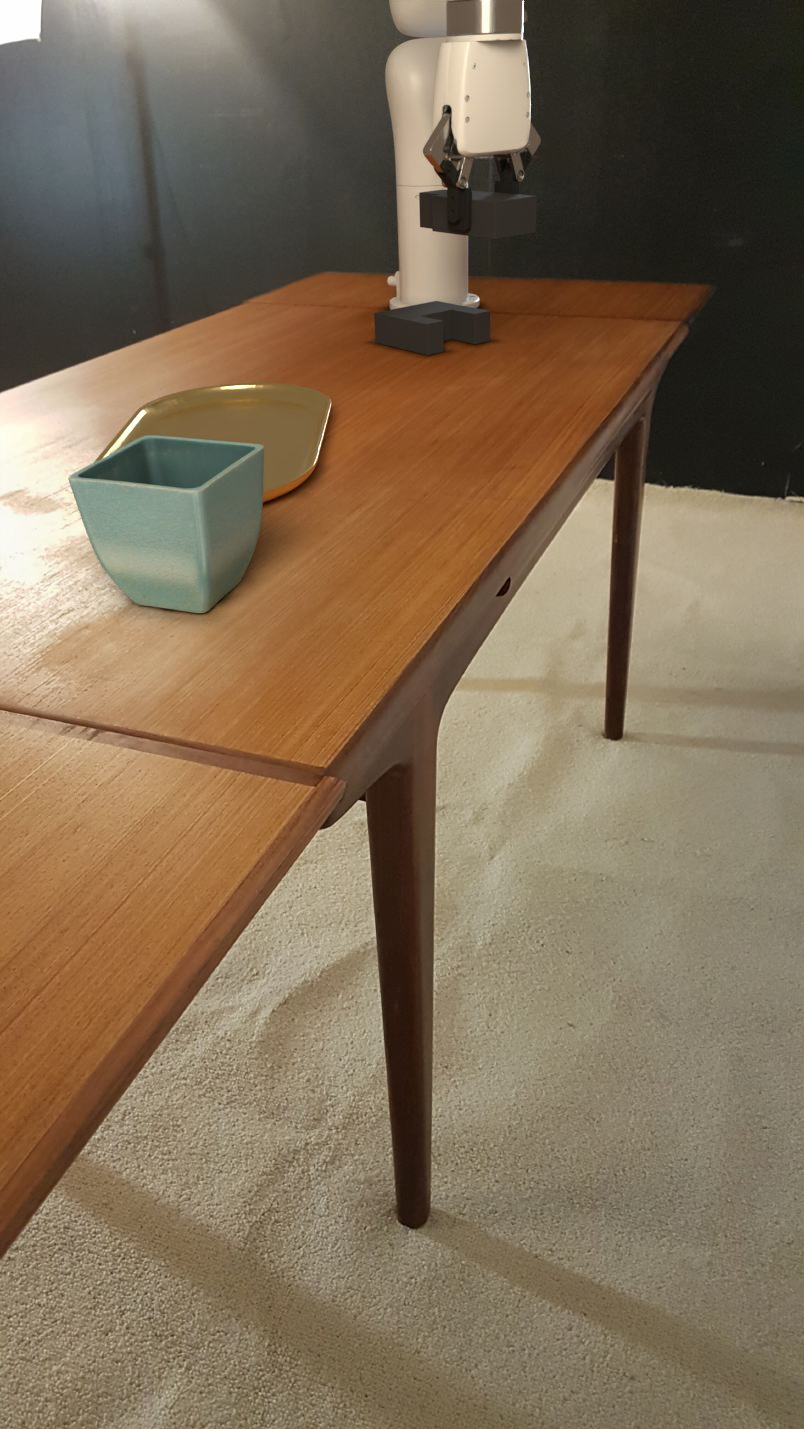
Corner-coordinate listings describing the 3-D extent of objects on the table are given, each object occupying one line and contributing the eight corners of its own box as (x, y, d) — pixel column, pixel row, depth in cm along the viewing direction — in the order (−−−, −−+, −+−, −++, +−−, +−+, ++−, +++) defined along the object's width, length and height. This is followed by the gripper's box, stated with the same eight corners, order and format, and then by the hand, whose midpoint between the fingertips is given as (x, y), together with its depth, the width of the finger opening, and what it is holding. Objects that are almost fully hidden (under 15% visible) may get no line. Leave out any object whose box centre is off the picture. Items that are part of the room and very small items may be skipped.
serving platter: (60, 526, 77) (55, 506, 76) (159, 401, 107) (157, 385, 106) (308, 519, 76) (306, 499, 76) (338, 395, 106) (337, 379, 105)
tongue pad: (411, 228, 115) (410, 193, 113) (452, 222, 118) (451, 188, 116) (494, 239, 105) (495, 201, 104) (536, 232, 108) (537, 195, 107)
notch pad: (375, 342, 126) (373, 312, 125) (436, 329, 132) (436, 300, 130) (427, 355, 120) (426, 324, 118) (490, 341, 125) (490, 310, 123)
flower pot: (281, 574, 68) (267, 441, 63) (219, 634, 61) (198, 490, 56) (166, 561, 71) (143, 432, 66) (94, 617, 64) (63, 477, 59)
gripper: (521, 24, 107) (516, 214, 117) (391, 27, 98) (398, 232, 108) (574, 21, 102) (564, 219, 112) (442, 23, 93) (444, 239, 103)
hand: (483, 224), depth 110 cm, fingers closed on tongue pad, 6 cm apart
